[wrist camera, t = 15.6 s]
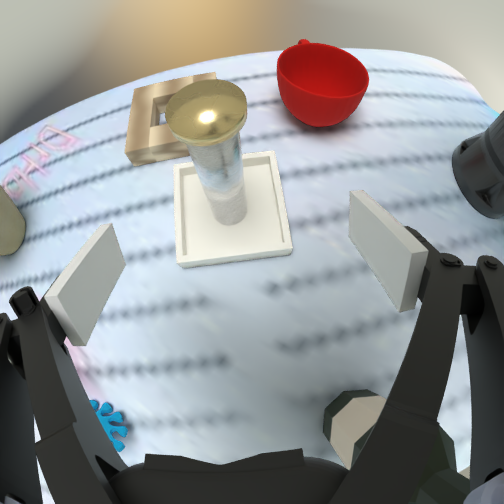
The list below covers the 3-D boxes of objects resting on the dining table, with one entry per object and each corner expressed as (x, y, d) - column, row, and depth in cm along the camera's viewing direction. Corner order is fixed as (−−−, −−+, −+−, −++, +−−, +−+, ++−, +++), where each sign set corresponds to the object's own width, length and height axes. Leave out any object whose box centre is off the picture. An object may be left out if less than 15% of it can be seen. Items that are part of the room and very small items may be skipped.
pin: (250, 185, 39) (242, 74, 20) (256, 227, 37) (251, 129, 18) (205, 191, 38) (167, 87, 20) (208, 234, 37) (163, 143, 18)
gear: (137, 415, 30) (101, 475, 22) (149, 434, 33) (119, 488, 25) (75, 384, 33) (39, 433, 24) (90, 406, 36) (59, 451, 27)
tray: (273, 162, 41) (274, 150, 38) (290, 254, 37) (292, 248, 34) (179, 175, 40) (173, 164, 38) (183, 268, 37) (176, 263, 34)
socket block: (218, 88, 45) (215, 71, 41) (224, 150, 41) (220, 133, 37) (141, 103, 45) (134, 89, 41) (134, 166, 41) (124, 152, 37)
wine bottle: (332, 456, 30) (439, 619, 1) (312, 404, 32) (442, 568, 3) (389, 428, 30) (555, 524, 1) (372, 377, 32) (579, 432, 3)
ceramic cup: (331, 71, 46) (340, 31, 36) (364, 140, 41) (384, 97, 32) (263, 75, 46) (262, 32, 36) (285, 147, 41) (290, 101, 32)
